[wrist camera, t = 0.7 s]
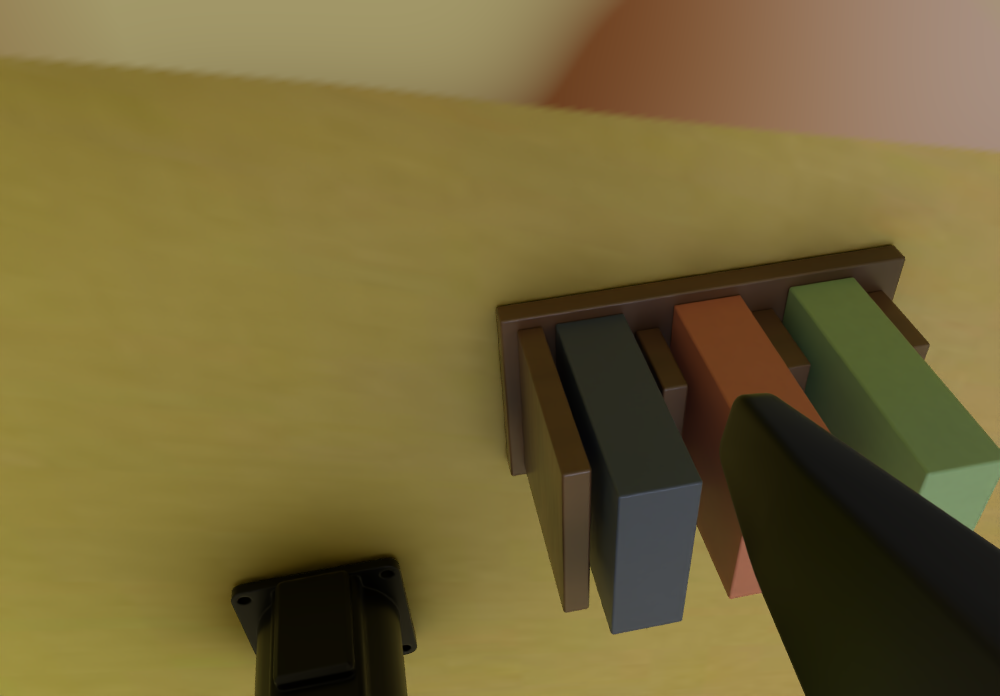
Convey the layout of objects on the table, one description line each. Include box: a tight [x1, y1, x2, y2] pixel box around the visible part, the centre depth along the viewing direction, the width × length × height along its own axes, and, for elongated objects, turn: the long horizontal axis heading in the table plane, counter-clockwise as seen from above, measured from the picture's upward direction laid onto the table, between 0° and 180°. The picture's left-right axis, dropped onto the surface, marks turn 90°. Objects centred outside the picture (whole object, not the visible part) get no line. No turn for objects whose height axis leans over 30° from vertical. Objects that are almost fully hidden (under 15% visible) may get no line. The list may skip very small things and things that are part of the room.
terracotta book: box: [670, 295, 831, 599], centre depth 26 cm, size 6×2×7 cm, turn 3°
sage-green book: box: [782, 277, 1000, 531], centre depth 26 cm, size 6×2×8 cm, turn 3°
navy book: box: [555, 314, 703, 634], centre depth 26 cm, size 6×2×7 cm, turn 3°
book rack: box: [496, 245, 930, 613], centre depth 27 cm, size 7×13×7 cm, turn 93°
